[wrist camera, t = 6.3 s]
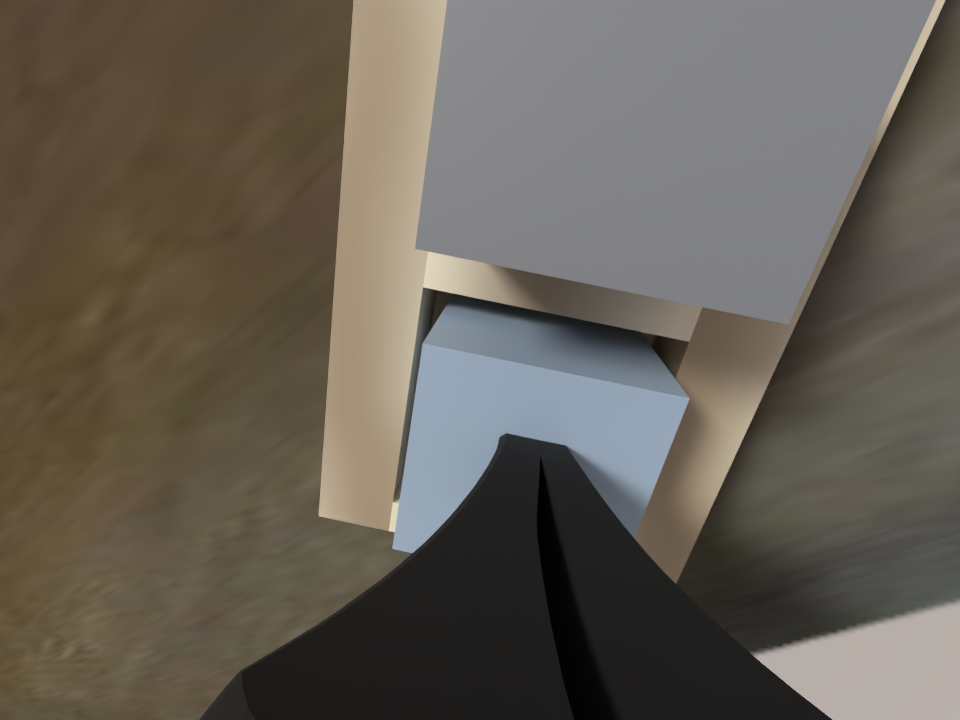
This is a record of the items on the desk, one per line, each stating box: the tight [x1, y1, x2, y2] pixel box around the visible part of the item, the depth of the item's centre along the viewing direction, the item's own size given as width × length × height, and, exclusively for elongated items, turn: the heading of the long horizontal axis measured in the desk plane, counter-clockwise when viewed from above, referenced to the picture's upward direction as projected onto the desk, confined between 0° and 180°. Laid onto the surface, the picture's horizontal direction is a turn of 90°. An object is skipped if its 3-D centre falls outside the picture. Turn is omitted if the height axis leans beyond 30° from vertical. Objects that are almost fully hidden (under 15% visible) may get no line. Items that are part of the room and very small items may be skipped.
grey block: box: [415, 0, 936, 325], centre depth 7 cm, size 5×5×4 cm
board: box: [319, 0, 945, 584], centre depth 10 cm, size 10×22×2 cm, turn 169°
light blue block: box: [392, 294, 690, 553], centre depth 11 cm, size 5×5×4 cm
